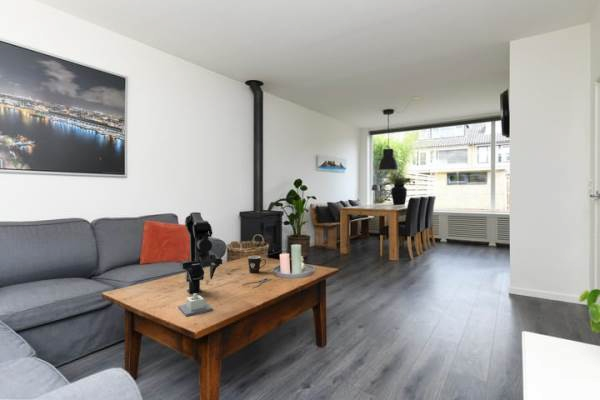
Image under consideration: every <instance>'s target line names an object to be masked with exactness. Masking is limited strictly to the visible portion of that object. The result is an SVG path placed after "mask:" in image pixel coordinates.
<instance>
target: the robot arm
mask: <svg viewBox="0 0 600 400" xmlns="http://www.w3.org/2000/svg"><path fill="white" fill-rule="evenodd" d="M184 227H185V228H186V229H185V230H186V232H187V233H188V234H189V254H190V256H189V257H190V259H188V260H186V259H185V260H181V261H179V268H180V269H182V270H184V271H186V272H185V281H186V283H188V289H186V291H187V293H189V294H190V295H191V294H195V293H197V294H198V293H201V292H203V290H202V289H201V281H203V280H204V279H205V277H204V276H205V270H204V268H207V267H209V276H210V277H209V278H210V280H213V277H214V274H215V271H216V269H217V268H218V267H220V266H221V265H223V259H222V257H220V256H216V255H215V254H211V255H210V252H209V251H211V250H212V248H213V243H212V241H211V240H210V239H209V238H210V237H212V236H213V228H212V226H211V224H210V222H209V220H204V219H203V216H202V214H201V212H196V211H195V212H191V213H189V215H188V216H186V217H185V220H184Z"/></svg>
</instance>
